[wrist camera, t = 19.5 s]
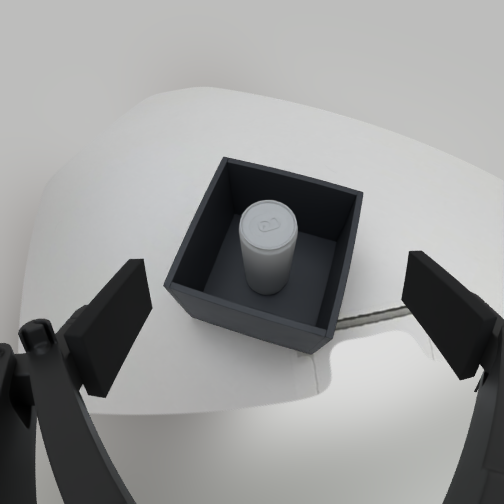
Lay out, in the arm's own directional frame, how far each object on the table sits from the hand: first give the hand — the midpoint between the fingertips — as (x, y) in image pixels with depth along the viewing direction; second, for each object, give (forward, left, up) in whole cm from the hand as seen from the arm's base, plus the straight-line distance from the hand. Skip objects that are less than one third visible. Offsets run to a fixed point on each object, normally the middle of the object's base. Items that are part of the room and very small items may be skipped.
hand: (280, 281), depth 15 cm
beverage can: (-3, +7, -20) cm, 21 cm away
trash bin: (-2, +7, -21) cm, 22 cm away
